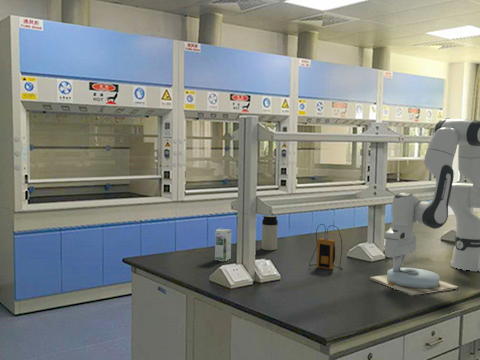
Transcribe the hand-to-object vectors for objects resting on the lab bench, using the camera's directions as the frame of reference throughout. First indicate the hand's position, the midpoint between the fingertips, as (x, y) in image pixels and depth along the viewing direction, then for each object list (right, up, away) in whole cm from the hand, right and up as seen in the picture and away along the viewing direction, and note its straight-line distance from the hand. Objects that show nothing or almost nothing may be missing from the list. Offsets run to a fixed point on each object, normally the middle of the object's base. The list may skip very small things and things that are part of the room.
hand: (400, 264), depth 211 cm
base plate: (+3, -7, -6) cm, 10 cm away
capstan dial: (+3, -5, -7) cm, 9 cm away
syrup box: (-75, -3, +27) cm, 80 cm away
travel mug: (-52, -1, +53) cm, 74 cm away
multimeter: (-27, -4, +19) cm, 33 cm away
